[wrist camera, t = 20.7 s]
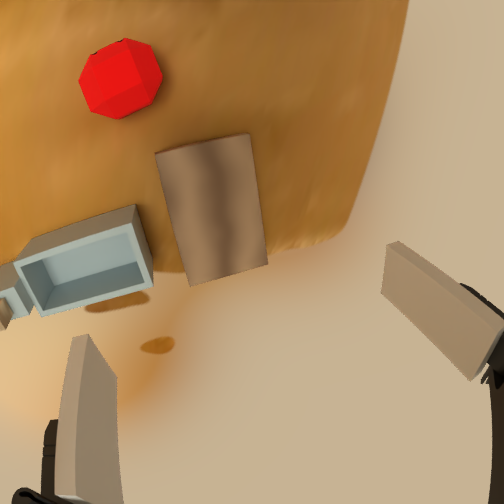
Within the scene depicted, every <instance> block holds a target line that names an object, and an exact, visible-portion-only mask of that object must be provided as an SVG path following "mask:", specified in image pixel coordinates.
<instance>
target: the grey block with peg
mask: <svg viewBox="0 0 504 504" xmlns="http://www.w3.org/2000/svg"><path fill="white" fill-rule="evenodd" d="M14 261H15V260H14ZM14 261H12V262H9V263H7V264H4V265H1V266H0V299H1V298H5V300H6V302H7V304H8V305H9V307H10V309H11V311H12V312H13V316H12V318H11V320H13V319H16V318H20V317H23V316H27V315H30V313H31V310H32V308H33V306H34V304H33V302H32V300H31V298H30V296H29V294H28V293H27V291H26V289H25V287H24V285H23V283H22V281H21V279H20V277H19V275H18V273H17V271H16V269H15V267H14V264H13V262H14Z"/></svg>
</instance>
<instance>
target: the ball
mask: <svg viewBox="0 0 504 504" xmlns="http://www.w3.org/2000/svg"><path fill="white" fill-rule="evenodd" d="M162 79H163V76H162V73H161V71H160V68H159V66H158V63H157V61H156V58H155V56H154V53H153V51H152V48H151V46H150V45H148V44H144V43H141V42H138V41H134V40H131V39H127V38H123V40H121V41H117V42H115V43H113V44H110V45H108V46H106V47H104V48H102V49H100V50H98V51H97V52H96V53H94V54H91V55H90V56H89V58H88V60H87V63H86V65H85V67H84V69H83V71H82V74H81V76H80V78H79V80H78V81H79V84H80V86H81V89H82V92H83V94H84V97H85V99H86V101H87V104H88V106H89V109H90V111H91V112H93V113H97V114H100V115H104V116H107V117H110V118H114V119H122V118H124V117H126V116H128V115H130V114H132V113H134V112H136V111H138V110H140V109H142V108H144V107H146V106H148V105H151V104H152V102H153V100H154V97H155V95H156V93H157V91H158V89H159V87H160V84H161V82H162Z"/></svg>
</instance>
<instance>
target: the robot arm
mask: <svg viewBox="0 0 504 504" xmlns="http://www.w3.org/2000/svg"><path fill="white" fill-rule="evenodd" d="M381 294H382V295H384V296H385V297H386V298H387V299H388V300H389V301H390V302H391V303H392V304H393V305H394V306H395V307H396V308H397V309H399V310H400V311H401V312H402V313H403V314H404V315H405V316H406V317H407V318H408V319H409V320H410V321H411V322H412V323H413V324H414V325H415V326H416V327H417V328H418V329H419V330H420V331H421V332H422V333H423V334H424V335H425V336H426V337H427V338H428V339H429V340H430V341H431V342H432V343H433V344H434V345H435V346H436V347H437V348H438V349H439V350H440V351H441V352H442V353H443V354H444V355H445V356H446V357H447V358H448V359H449V360H450V361H451V362H452V363H453V364H454V365H455V366H456V367H457V368H458V369H459V370H460V371H461V372H462V374H463V375H464V376H465V377H466V378H467V379H468V380H469V381H471V380H473V379H474V378H475V377H476V376H477V375H478V374H479V373H480V372H481V371H482V369H483V368H484V366H485V364H486V363H488V364H489V365H490V366H489V367H488V369H487V371H486V372H485V374H484V375H483V377H482V379H481V384H483V383H484V381H485V380H486V378H487V377H488V379H487V381H486V384H489V387H490V398H491V410H492V470H491V484H490V493H489V501H488V504H504V313H503V312H502V311H501V310H499V309H498V308H497V307H496V306H494V305H493V304H492V303H491V302H489V301H487V300H486V298H484V297H483V296H482V295H481V296H480V294H479V293H478V292H477V291H475V290H474V289H473V288H471V287H469V286H467V285H465V284H462V283H460V284H459V283H457V282H456V281H455V280H453V279H452V278H451V277H449V276H448V275H446V274H445V273H444V272H442V271H441V270H440V269H438V268H437V267H436V266H434V265H433V264H431V263H430V262H429V261H427V260H426V259H424V258H423V257H421V256H420V255H419V254H417V253H416V252H414V251H413V250H411V249H410V248H408V247H407V246H405V245H404V244H402V243H401V242H399V241H397V242H394V243H391V244H388V245H387V247H386V257H385V266H384V274H383V282H382V290H381ZM118 453H119V452H118V433H117V376H116V375H115V373H114V372H113V371H112V369H111V368H110V366H109V365H108V363H107V362H106V361H105V359H104V358H103V356H102V355H101V353H100V352H99V350H98V348H97V347H96V346H95V344H94V342H93V341H92V339H91V337H90V336H89V334H86V335H81V336H77V337H73V339H72V343H71V348H70V352H69V357H68V362H67V367H66V372H65V378H64V384H63V390H62V397H61V404H60V411H59V419H57V420H50V422H49V424H48V426H47V428H46V430H45V435H44V447H43V458H42V475H41V494H39V493H36V492H35V491H33V490H31V489H29V488H20V489H18V490H17V491H16V492H15V494H14V495H13V498H12V504H124V502H123V495H122V486H121V477H120V466H119V454H118Z"/></svg>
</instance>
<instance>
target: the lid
mask: <svg viewBox="0 0 504 504" xmlns="http://www.w3.org/2000/svg"><path fill="white" fill-rule="evenodd" d="M155 158H156V163H157V167H158V171H159V175H160V180H161V184H162V188H163V192H164V196H165V200H166V204H167V208H168V212H169V215H170V219H171V223H172V227H173V230H174V234H175V237H176V241H177V245H178V248H179V252H180V255H181V259H182V262H183V265H184V269H185V272H186V275H187V279H188V282H189V285H190V287H191V286H194V285H198V284H202V283H205V282H208V281H212V280H216V279H219V278H223V277H226V276H230V275H233V274H236V273H240V272H243V271H247V270H250V269H254V268H257V267H260V266H264V265H267V264H268V259H267V252H266V244H265V237H264V230H263V223H262V215H261V208H260V201H259V194H258V187H257V180H256V174H255V167H254V160H253V153H252V146H251V140H250V134H247V133H241V134H235V135H230V136H225V137H220V138H215V139H210V140H205V141H201V142H196V143H192V144H187V145H183V146H179V147H175V148H171V149H167V150H163V151H159V152H156V153H155Z"/></svg>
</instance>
